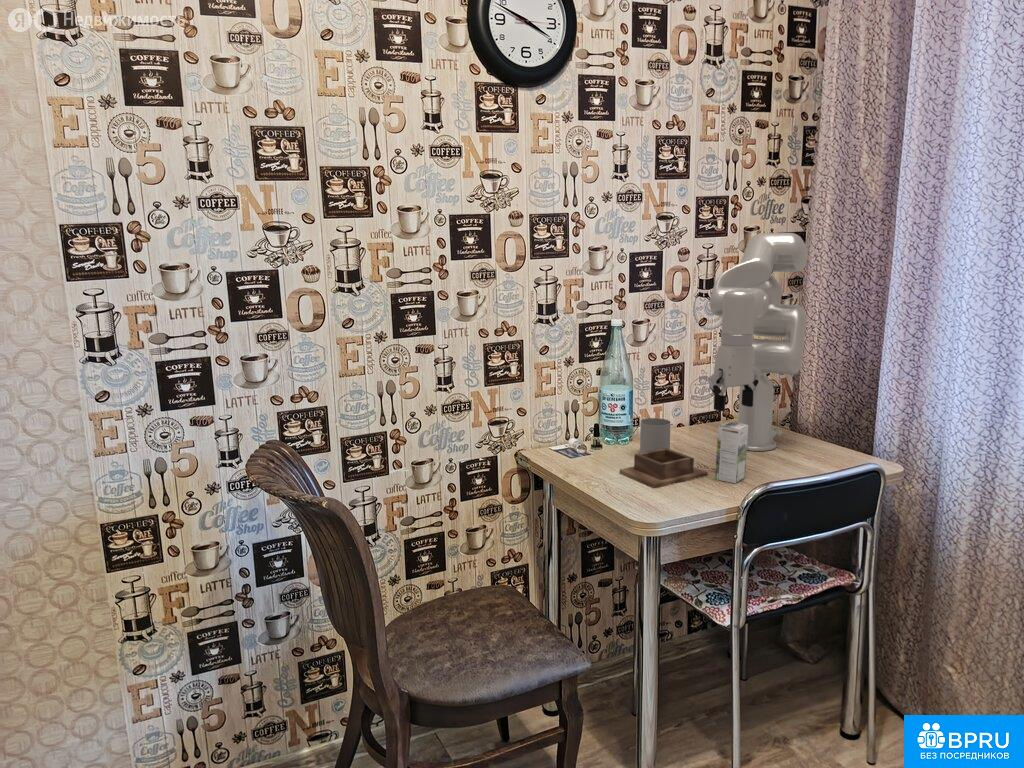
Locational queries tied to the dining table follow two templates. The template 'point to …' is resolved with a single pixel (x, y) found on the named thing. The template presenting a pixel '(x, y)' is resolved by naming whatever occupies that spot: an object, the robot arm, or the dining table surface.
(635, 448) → the dining table surface
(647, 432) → the cup
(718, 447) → the syrup box
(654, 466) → the box
